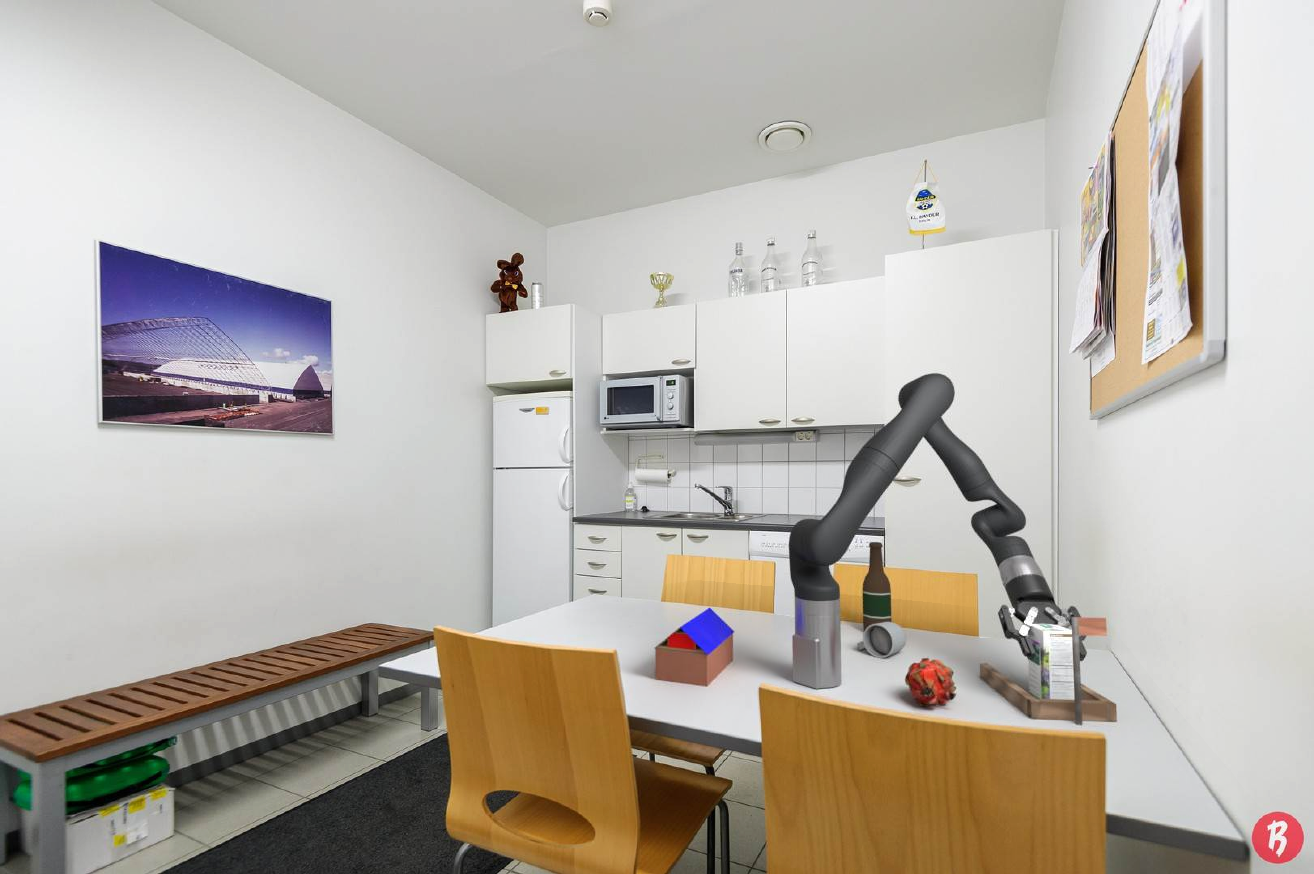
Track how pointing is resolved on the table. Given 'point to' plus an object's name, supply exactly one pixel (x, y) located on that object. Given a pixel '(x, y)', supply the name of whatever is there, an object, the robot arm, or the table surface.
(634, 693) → the table surface
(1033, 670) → the syrup box
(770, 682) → the table surface
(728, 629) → the house
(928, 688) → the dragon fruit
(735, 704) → the table surface
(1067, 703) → the wooden frame with flag
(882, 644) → the ceramic mug
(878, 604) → the beer bottle
